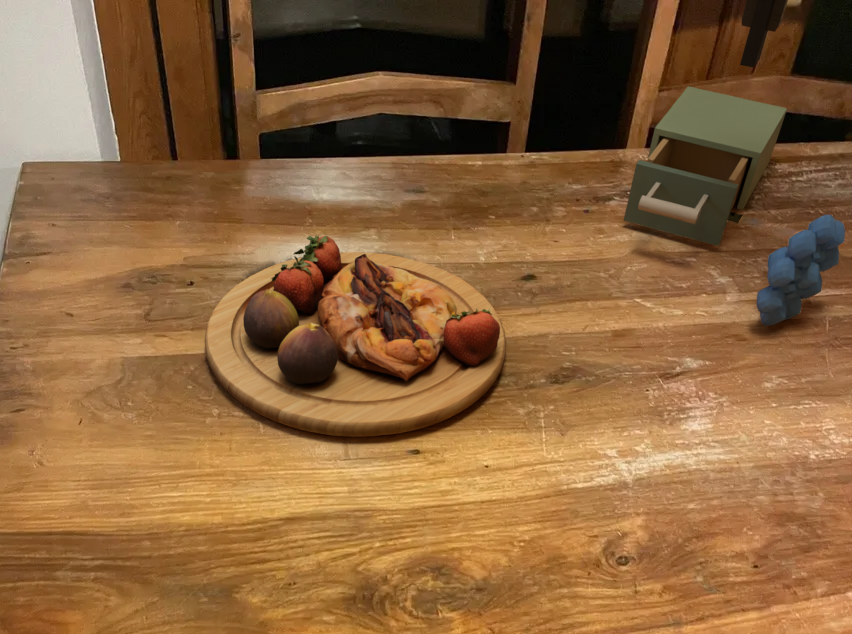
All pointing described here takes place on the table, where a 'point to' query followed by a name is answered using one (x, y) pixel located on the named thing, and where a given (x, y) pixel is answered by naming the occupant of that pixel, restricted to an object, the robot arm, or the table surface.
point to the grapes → (799, 269)
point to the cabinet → (725, 130)
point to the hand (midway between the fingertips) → (749, 61)
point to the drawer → (687, 190)
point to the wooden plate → (355, 342)
